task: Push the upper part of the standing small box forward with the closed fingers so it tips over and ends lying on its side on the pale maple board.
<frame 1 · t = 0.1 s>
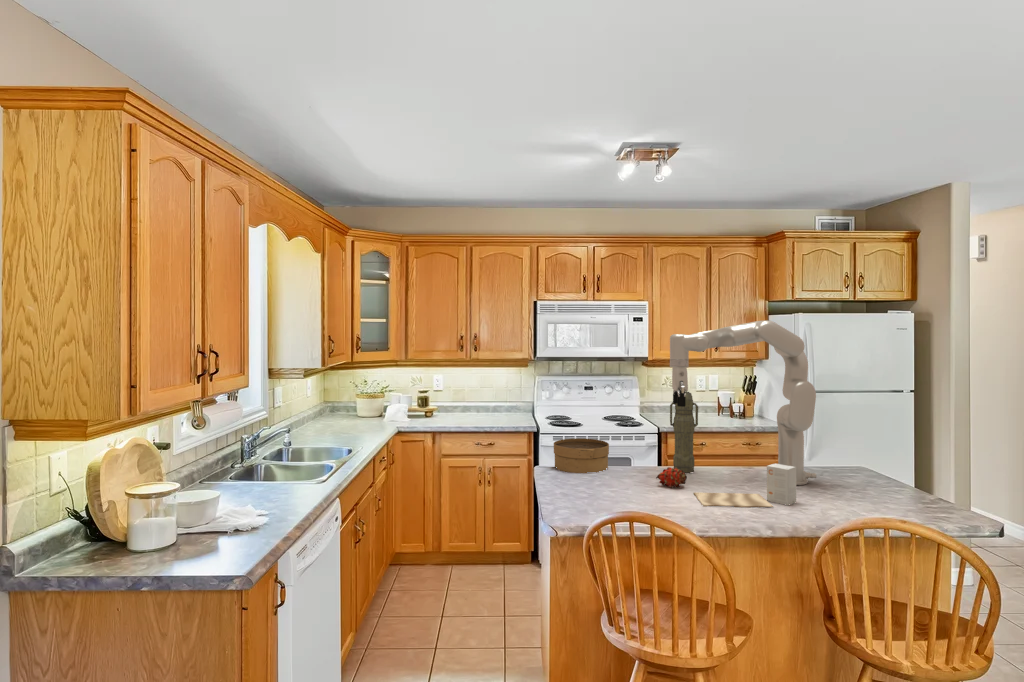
hand: (679, 404, 250), 31 cm above the countertop, tool pointing down, fingers open, 9 cm apart
thermos: (684, 471, 265), on the countertop
maple board: (731, 500, 219), on the countertop
dragon fruit: (671, 487, 239), on the countertop
small box: (781, 502, 218), on the countertop
steamer basket: (581, 467, 274), on the countertop
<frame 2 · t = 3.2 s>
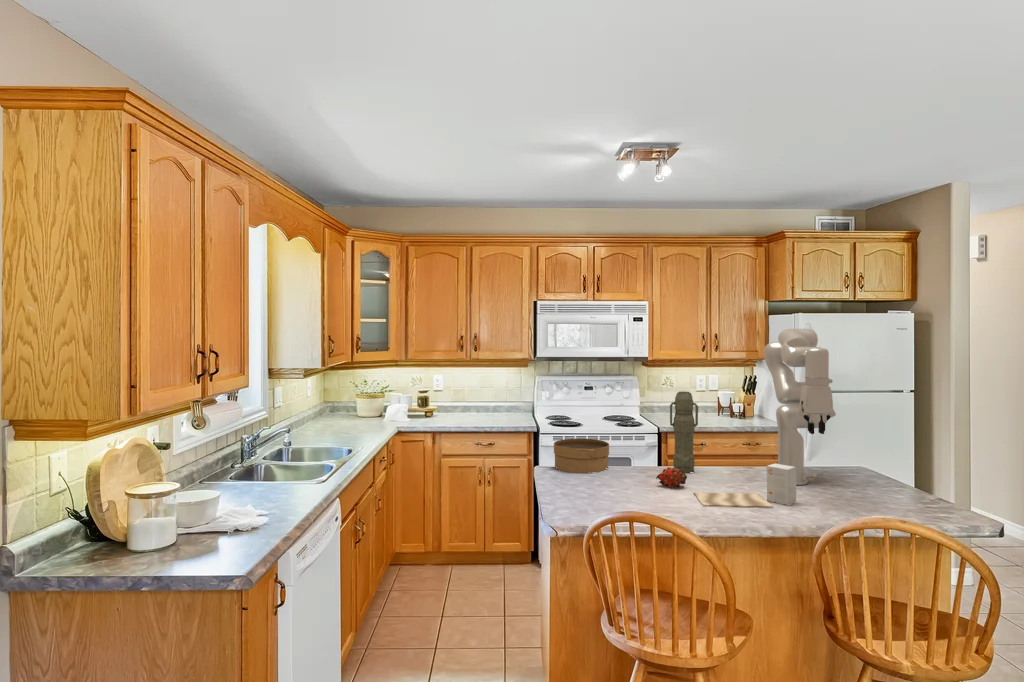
hand: (816, 433, 216), 25 cm above the countertop, tool pointing down, fingers closed
nothing on the countertop moved.
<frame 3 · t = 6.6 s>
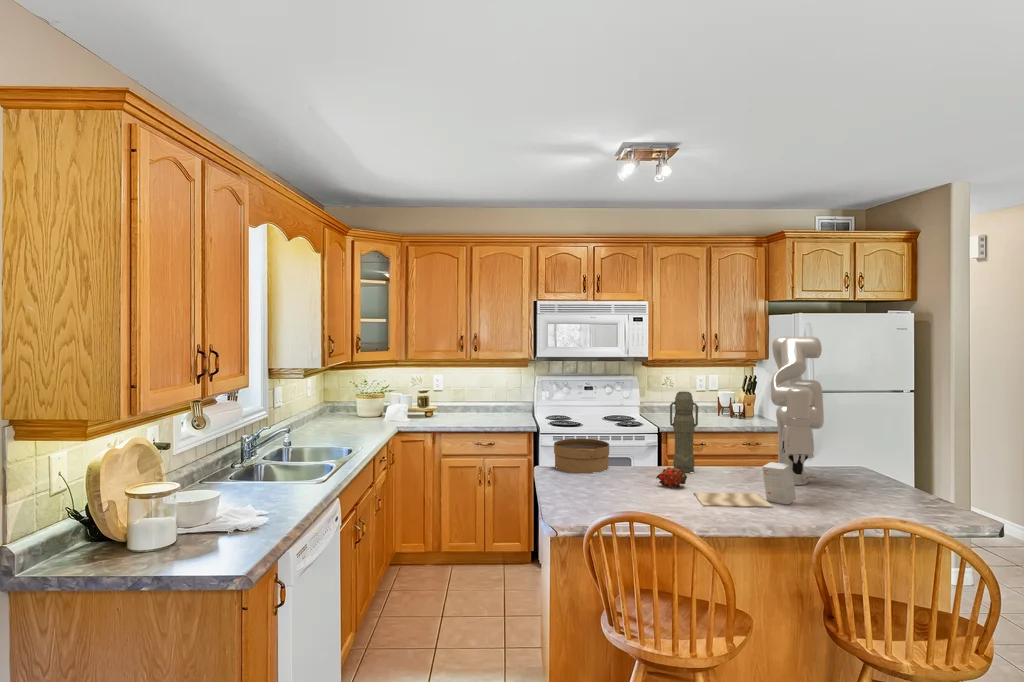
hand: (797, 473, 216), 11 cm above the countertop, tool pointing down, fingers closed
small box: (781, 500, 218), on the countertop, touching gripper
everything else where it was.
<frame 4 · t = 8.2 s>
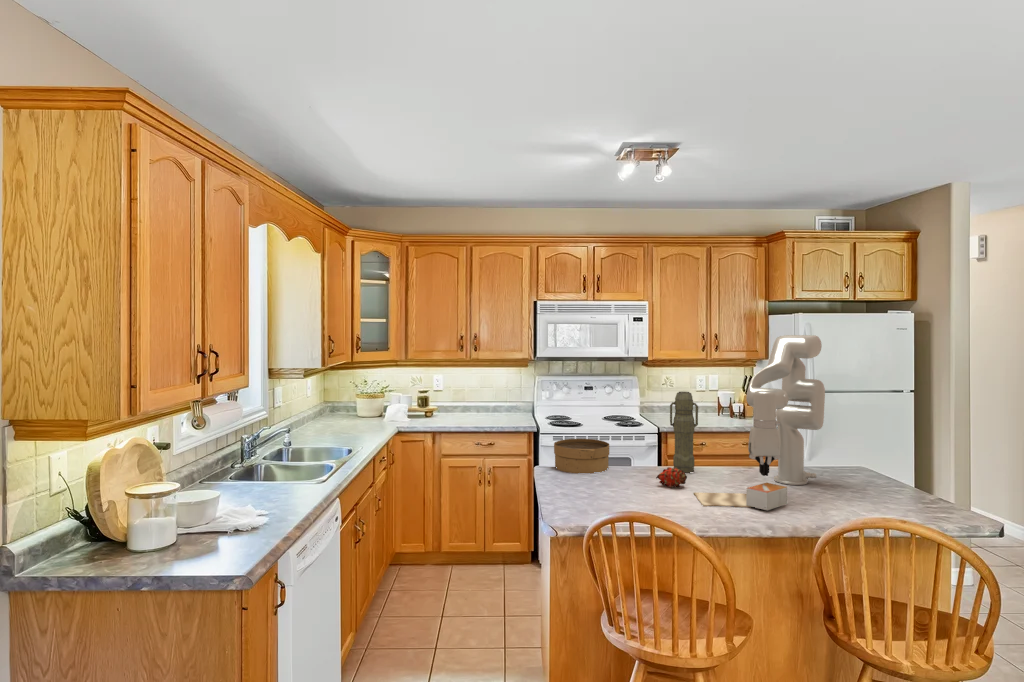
hand: (764, 474, 218), 10 cm above the countertop, tool pointing down, fingers closed
small box: (777, 492, 216), point 4 cm above the countertop, touching maple board
everything else where it was.
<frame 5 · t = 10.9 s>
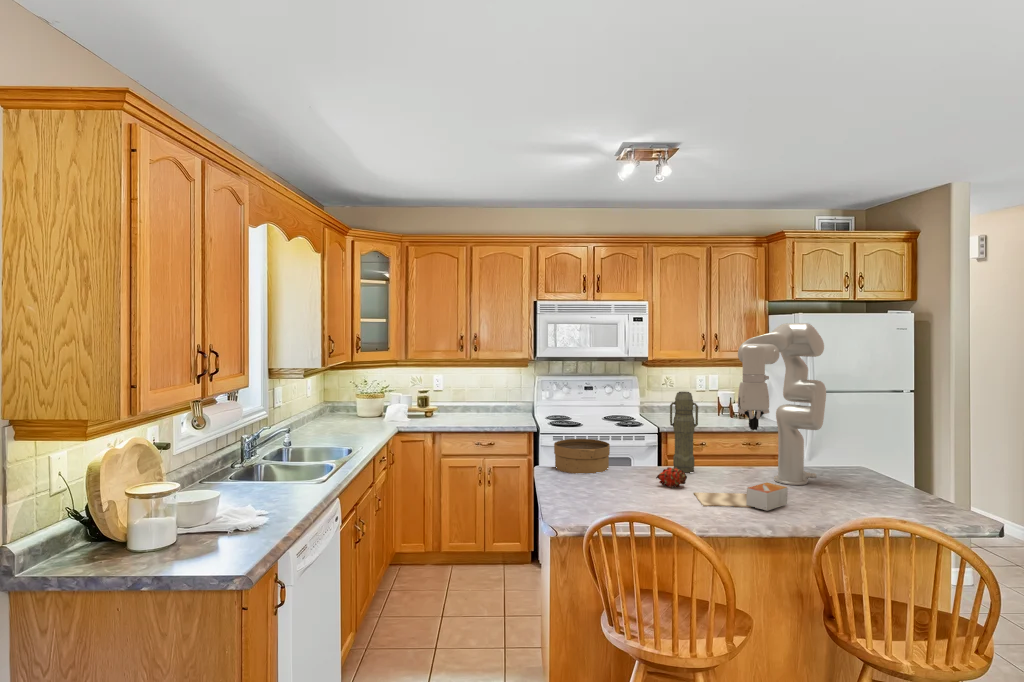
hand: (753, 429, 218), 26 cm above the countertop, tool pointing down, fingers closed
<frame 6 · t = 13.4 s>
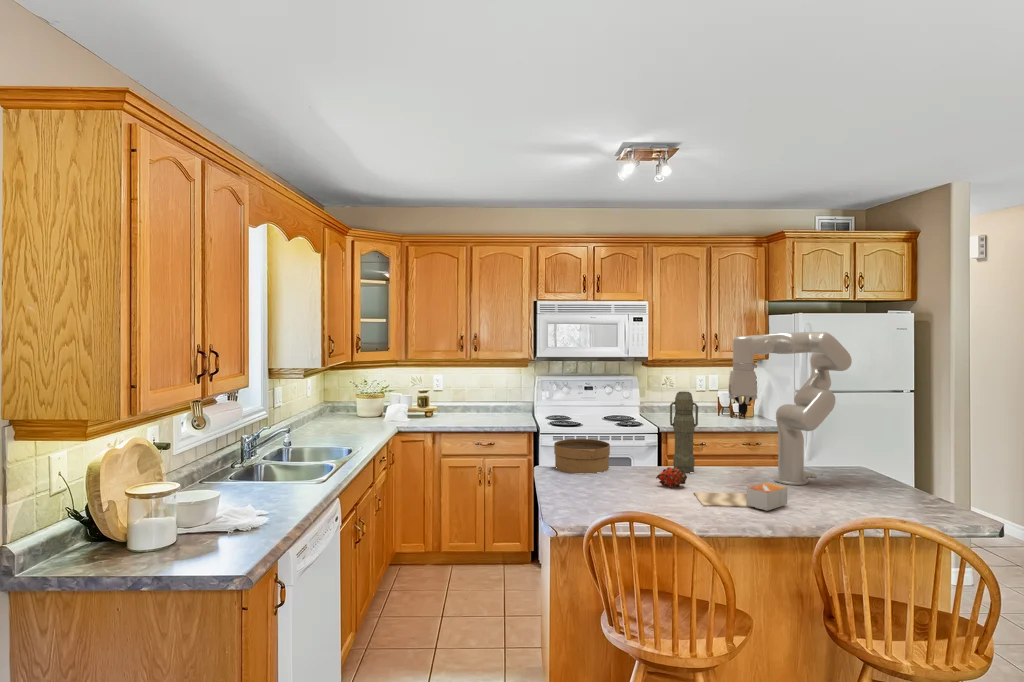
hand: (742, 413, 238), 29 cm above the countertop, tool pointing down, fingers closed
at the end: small box tilted 90°; small box inside the target area (6.7 cm from its centre), point 3.8 cm above the countertop; small box touching maple board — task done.
